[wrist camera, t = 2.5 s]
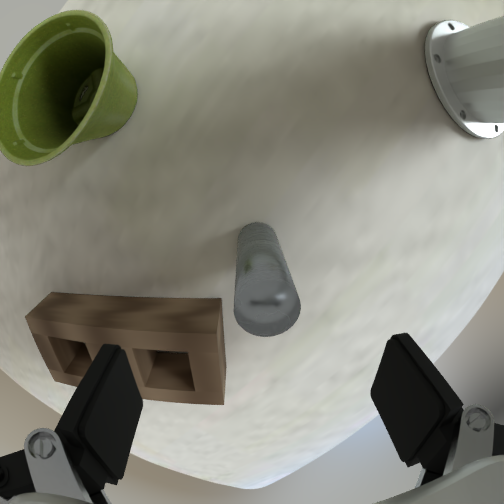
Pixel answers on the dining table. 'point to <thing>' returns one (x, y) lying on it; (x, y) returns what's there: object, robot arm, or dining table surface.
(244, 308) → the pin
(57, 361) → the socket block
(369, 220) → the dining table surface
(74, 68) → the plant pot
